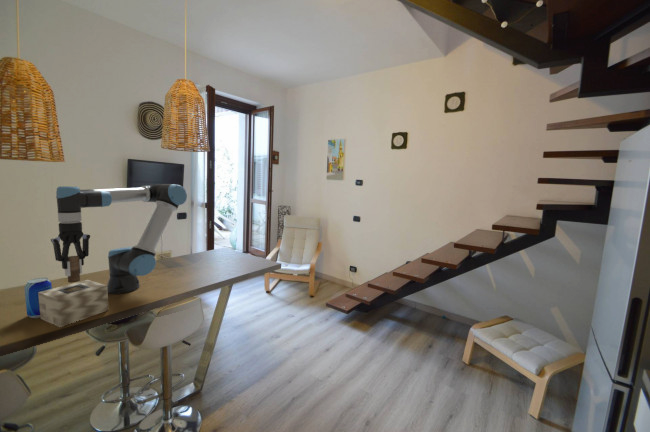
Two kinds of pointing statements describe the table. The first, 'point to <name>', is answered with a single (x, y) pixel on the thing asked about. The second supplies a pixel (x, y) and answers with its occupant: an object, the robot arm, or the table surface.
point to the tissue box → (73, 302)
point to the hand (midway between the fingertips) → (73, 274)
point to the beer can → (35, 295)
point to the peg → (74, 269)
